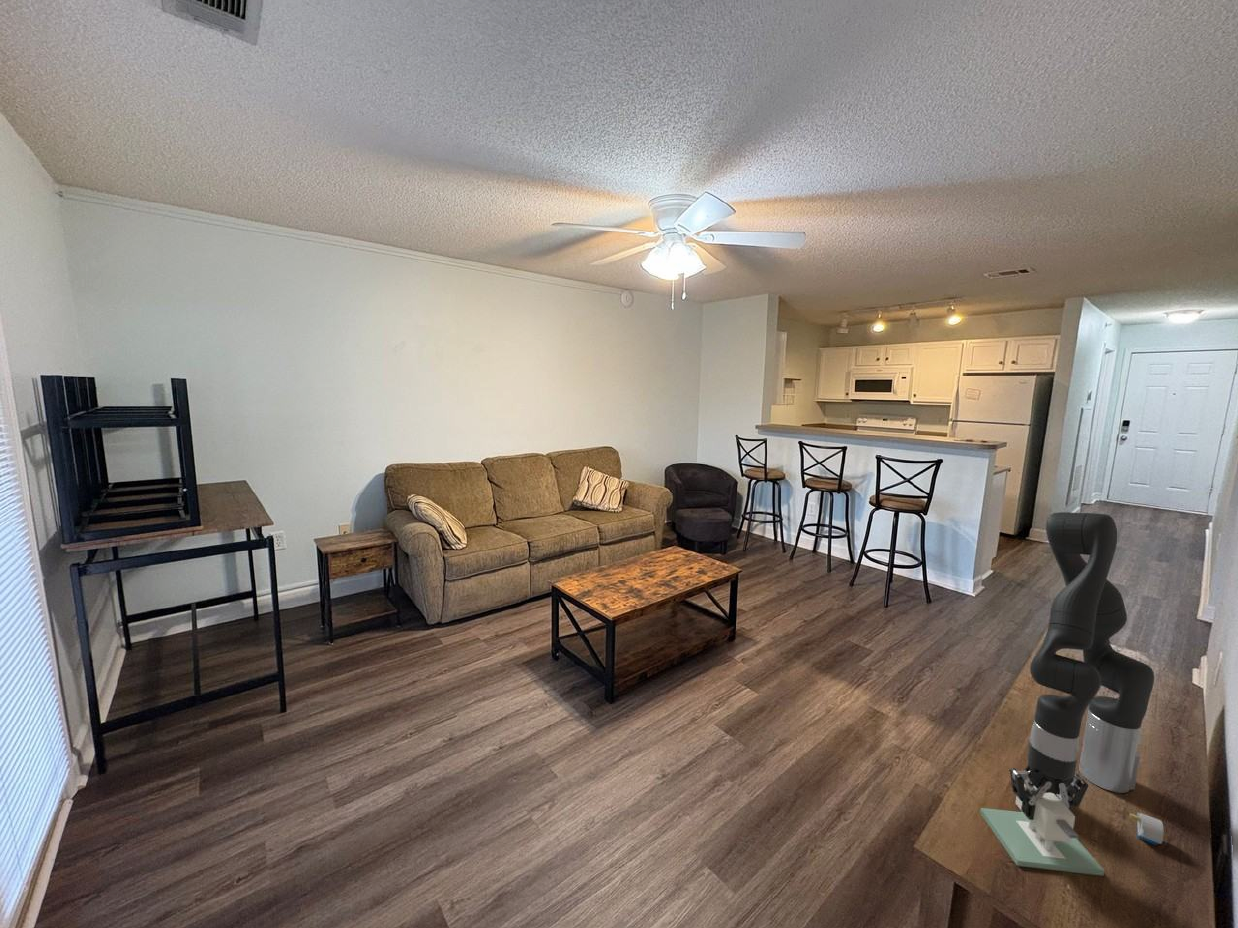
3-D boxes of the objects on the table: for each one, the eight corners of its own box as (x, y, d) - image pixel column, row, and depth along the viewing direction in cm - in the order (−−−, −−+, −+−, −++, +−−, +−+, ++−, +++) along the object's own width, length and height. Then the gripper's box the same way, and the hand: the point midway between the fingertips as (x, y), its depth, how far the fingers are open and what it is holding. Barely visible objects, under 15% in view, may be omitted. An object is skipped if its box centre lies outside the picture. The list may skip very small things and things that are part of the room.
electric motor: (1124, 819, 112) (1128, 800, 111) (1155, 831, 109) (1159, 812, 108) (1129, 841, 107) (1133, 821, 106) (1162, 854, 104) (1166, 833, 103)
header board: (1055, 820, 112) (1058, 801, 111) (1103, 875, 99) (1107, 855, 99) (979, 812, 114) (982, 794, 113) (1016, 865, 101) (1019, 845, 101)
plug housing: (1040, 805, 110) (1043, 781, 109) (1084, 857, 97) (1089, 831, 96) (1015, 802, 110) (1018, 779, 109) (1056, 854, 98) (1060, 828, 97)
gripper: (1077, 737, 106) (1065, 807, 108) (1004, 731, 107) (994, 799, 110) (1106, 763, 98) (1093, 837, 101) (1027, 756, 100) (1017, 829, 103)
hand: (1042, 817), depth 105 cm, fingers closed on plug housing, 5 cm apart
